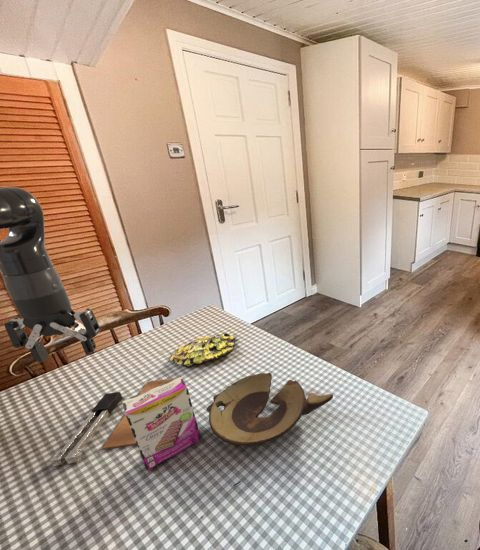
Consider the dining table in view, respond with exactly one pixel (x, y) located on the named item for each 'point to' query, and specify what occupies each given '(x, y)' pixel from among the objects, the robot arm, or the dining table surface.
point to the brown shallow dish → (259, 410)
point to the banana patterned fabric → (204, 349)
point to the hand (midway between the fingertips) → (67, 356)
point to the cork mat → (123, 430)
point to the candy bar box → (162, 422)
